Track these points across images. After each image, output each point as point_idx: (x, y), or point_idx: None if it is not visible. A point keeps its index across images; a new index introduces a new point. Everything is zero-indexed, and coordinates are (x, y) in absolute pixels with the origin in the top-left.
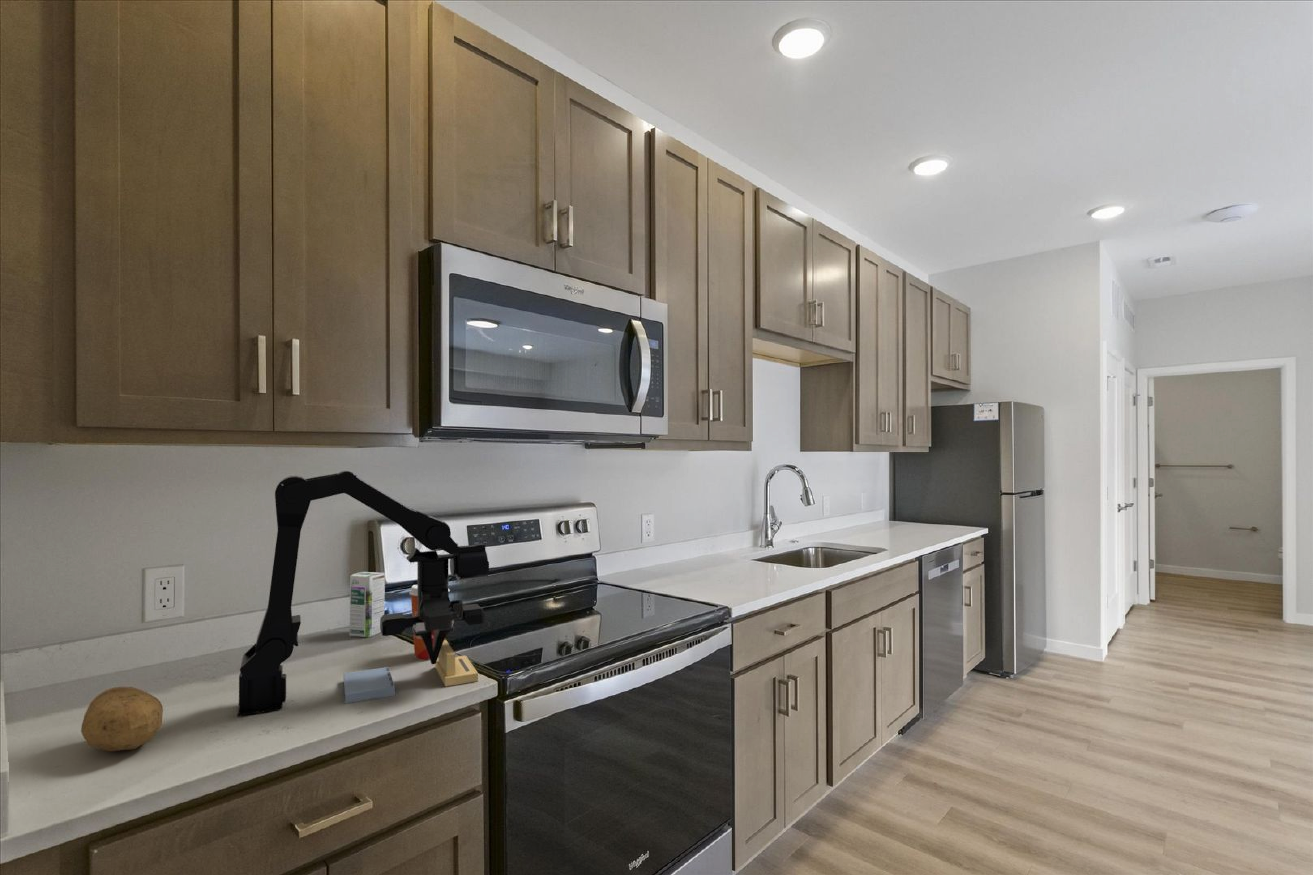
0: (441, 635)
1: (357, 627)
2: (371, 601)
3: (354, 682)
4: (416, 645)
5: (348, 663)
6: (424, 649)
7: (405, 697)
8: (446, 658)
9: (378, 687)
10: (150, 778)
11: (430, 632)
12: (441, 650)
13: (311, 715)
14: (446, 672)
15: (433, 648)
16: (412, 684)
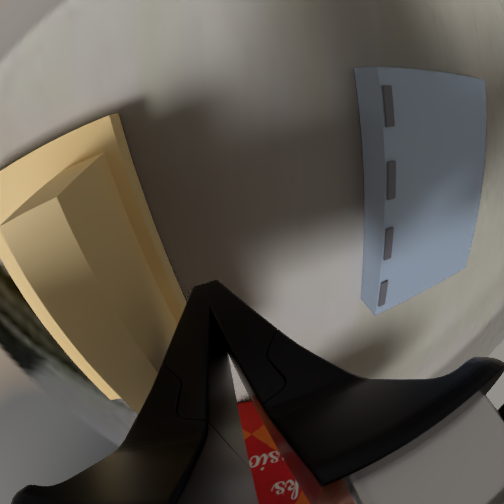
0: (156, 456)
1: None
2: None
3: (468, 183)
4: None
5: (410, 358)
6: (263, 423)
7: (308, 21)
8: (80, 206)
9: (426, 91)
10: None
11: (340, 471)
12: None
13: (496, 43)
14: (106, 174)
15: (227, 374)
16: (288, 181)
